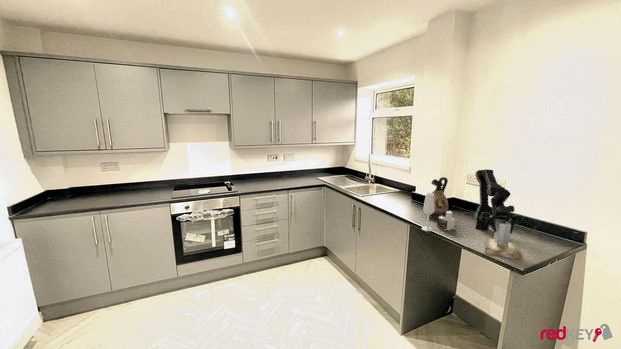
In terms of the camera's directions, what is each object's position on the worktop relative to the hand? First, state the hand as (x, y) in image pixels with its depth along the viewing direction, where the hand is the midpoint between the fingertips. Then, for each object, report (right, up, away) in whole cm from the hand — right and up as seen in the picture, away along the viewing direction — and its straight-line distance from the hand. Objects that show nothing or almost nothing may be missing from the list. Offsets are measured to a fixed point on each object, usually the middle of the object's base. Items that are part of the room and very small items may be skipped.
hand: (503, 232), depth 135 cm
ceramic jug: (-7, -1, +56) cm, 57 cm away
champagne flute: (-25, -5, +33) cm, 42 cm away
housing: (0, -7, +3) cm, 8 cm away
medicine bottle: (-13, -5, +34) cm, 37 cm away
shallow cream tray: (+1, -10, +3) cm, 11 cm away
